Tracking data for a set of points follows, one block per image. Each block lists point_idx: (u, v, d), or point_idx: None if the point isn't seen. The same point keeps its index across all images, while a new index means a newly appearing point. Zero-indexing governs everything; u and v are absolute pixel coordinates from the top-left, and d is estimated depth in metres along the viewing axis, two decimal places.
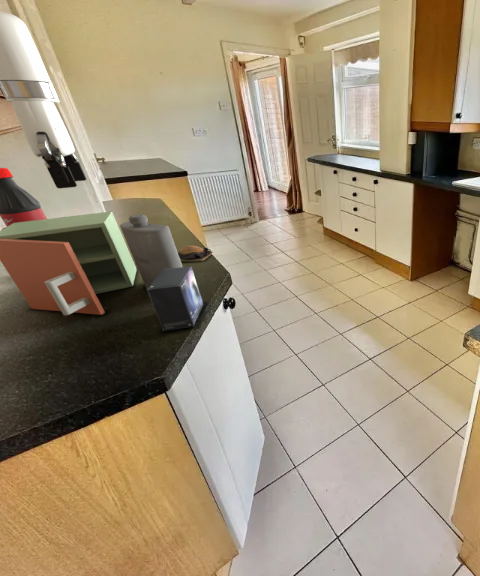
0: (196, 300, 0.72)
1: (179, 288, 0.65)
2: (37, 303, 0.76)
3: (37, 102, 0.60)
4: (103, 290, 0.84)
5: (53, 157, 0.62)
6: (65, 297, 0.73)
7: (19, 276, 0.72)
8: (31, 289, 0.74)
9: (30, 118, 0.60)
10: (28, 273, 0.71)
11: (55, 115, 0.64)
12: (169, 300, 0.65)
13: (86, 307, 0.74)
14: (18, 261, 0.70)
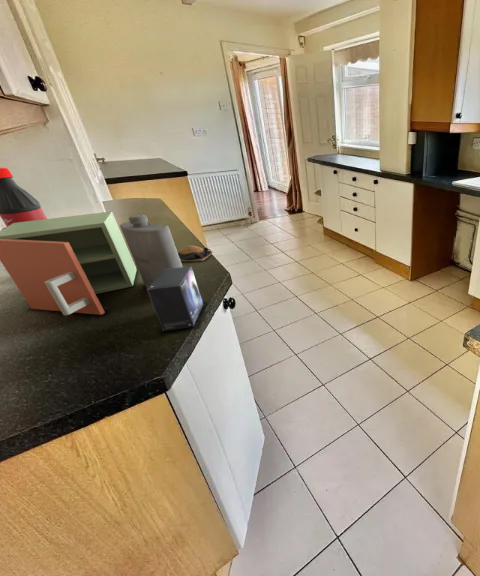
0: (196, 300, 0.72)
1: (179, 288, 0.65)
2: (37, 303, 0.76)
3: None
4: (103, 290, 0.84)
5: None
6: (65, 297, 0.73)
7: (19, 276, 0.72)
8: (31, 289, 0.74)
9: None
10: (28, 273, 0.71)
11: None
12: (169, 300, 0.65)
13: (86, 307, 0.74)
14: (18, 261, 0.70)
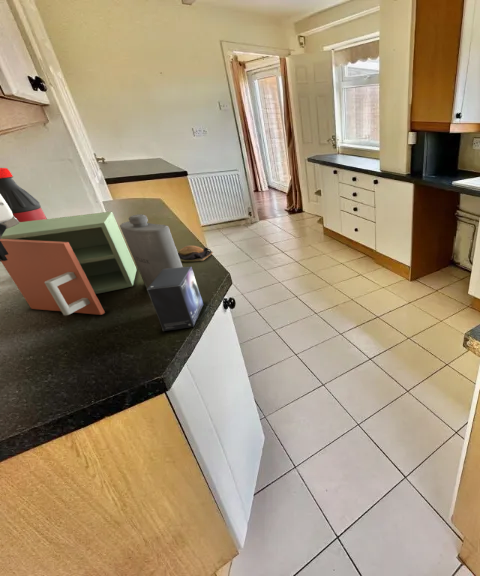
0: (196, 300, 0.72)
1: (179, 288, 0.65)
2: (37, 303, 0.76)
3: None
4: (103, 290, 0.84)
5: None
6: (65, 297, 0.73)
7: (19, 276, 0.72)
8: (31, 289, 0.74)
9: None
10: (28, 273, 0.71)
11: None
12: (169, 300, 0.65)
13: (86, 307, 0.74)
14: (18, 261, 0.70)
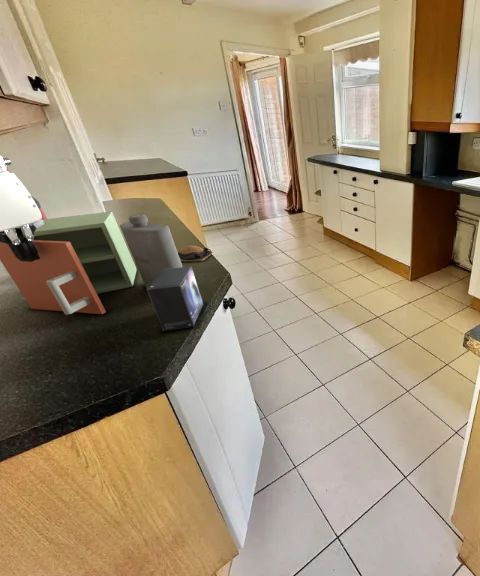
0: (196, 300, 0.72)
1: (179, 288, 0.65)
2: (37, 303, 0.76)
3: None
4: (103, 290, 0.84)
5: None
6: (66, 297, 0.73)
7: (19, 276, 0.72)
8: (31, 289, 0.74)
9: None
10: (28, 273, 0.71)
11: None
12: (169, 300, 0.65)
13: (87, 306, 0.74)
14: (19, 261, 0.70)
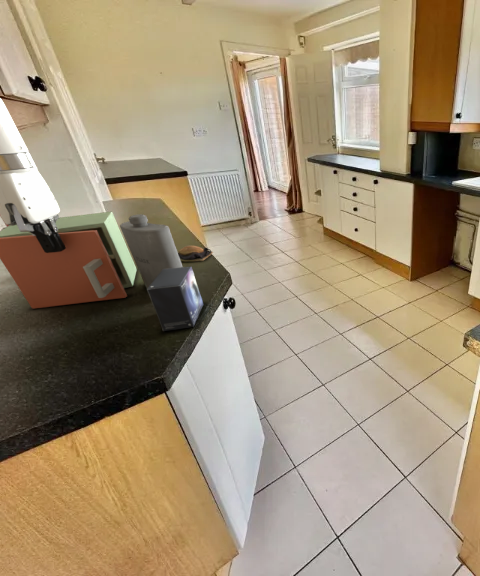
0: (196, 300, 0.72)
1: (179, 288, 0.65)
2: (42, 300, 0.77)
3: (5, 175, 0.59)
4: None
5: (35, 228, 0.65)
6: (83, 287, 0.78)
7: (24, 274, 0.73)
8: (38, 286, 0.75)
9: None
10: (39, 269, 0.73)
11: (29, 184, 0.63)
12: (169, 300, 0.65)
13: (108, 293, 0.80)
14: (28, 258, 0.72)
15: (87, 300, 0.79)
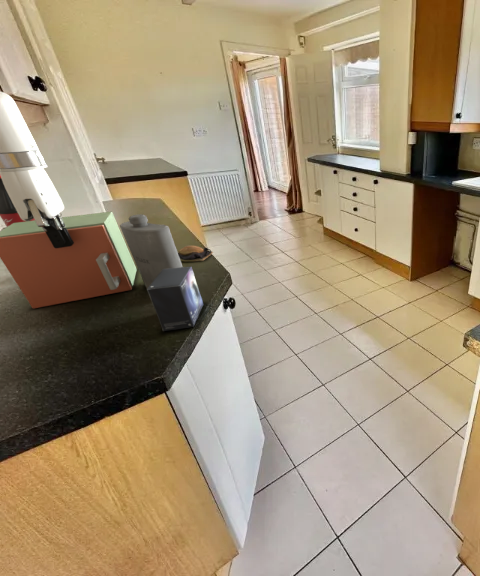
0: (196, 300, 0.72)
1: (179, 288, 0.65)
2: (44, 299, 0.77)
3: (23, 172, 0.62)
4: None
5: (50, 223, 0.68)
6: (88, 282, 0.80)
7: (27, 273, 0.74)
8: (40, 284, 0.76)
9: (17, 187, 0.62)
10: (42, 266, 0.74)
11: (42, 180, 0.66)
12: (169, 300, 0.65)
13: None
14: (31, 256, 0.73)
15: (92, 295, 0.81)
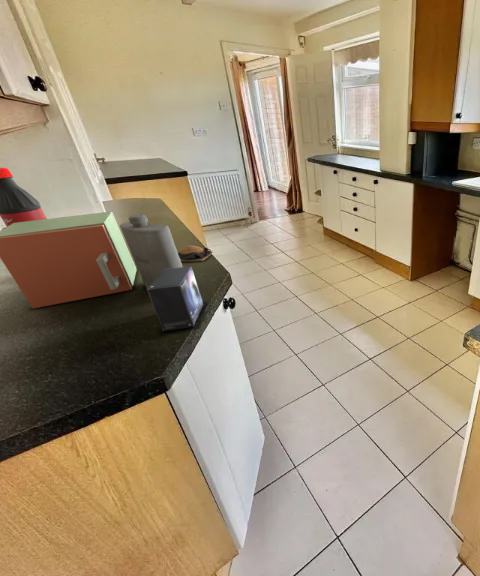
0: (196, 300, 0.72)
1: (179, 288, 0.65)
2: (44, 299, 0.77)
3: None
4: None
5: None
6: (88, 282, 0.80)
7: (27, 273, 0.74)
8: (41, 284, 0.76)
9: None
10: (42, 266, 0.75)
11: None
12: (169, 300, 0.65)
13: None
14: (31, 256, 0.73)
15: (92, 295, 0.81)
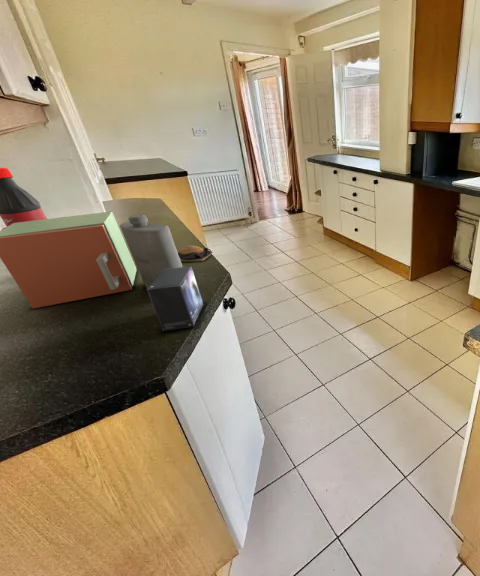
0: (196, 300, 0.72)
1: (179, 288, 0.65)
2: (44, 299, 0.77)
3: None
4: None
5: None
6: (88, 282, 0.80)
7: (27, 273, 0.74)
8: (41, 284, 0.76)
9: None
10: (42, 266, 0.75)
11: None
12: (169, 300, 0.65)
13: None
14: (31, 256, 0.73)
15: (92, 295, 0.81)
